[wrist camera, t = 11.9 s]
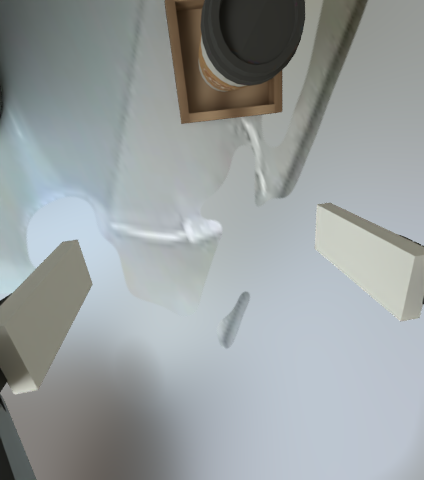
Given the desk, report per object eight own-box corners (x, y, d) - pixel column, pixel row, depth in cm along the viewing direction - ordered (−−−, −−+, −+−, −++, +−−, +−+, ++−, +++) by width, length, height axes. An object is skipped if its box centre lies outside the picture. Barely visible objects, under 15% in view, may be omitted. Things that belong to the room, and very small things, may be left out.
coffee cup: (178, 77, 34) (183, 40, 20) (210, 6, 31) (240, -91, 18) (234, 113, 36) (273, 102, 22) (267, 49, 34) (333, -6, 20)
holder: (181, 123, 37) (182, 123, 33) (164, 4, 31) (163, -11, 28) (272, 113, 38) (282, 111, 34) (271, -5, 33) (282, -19, 29)
